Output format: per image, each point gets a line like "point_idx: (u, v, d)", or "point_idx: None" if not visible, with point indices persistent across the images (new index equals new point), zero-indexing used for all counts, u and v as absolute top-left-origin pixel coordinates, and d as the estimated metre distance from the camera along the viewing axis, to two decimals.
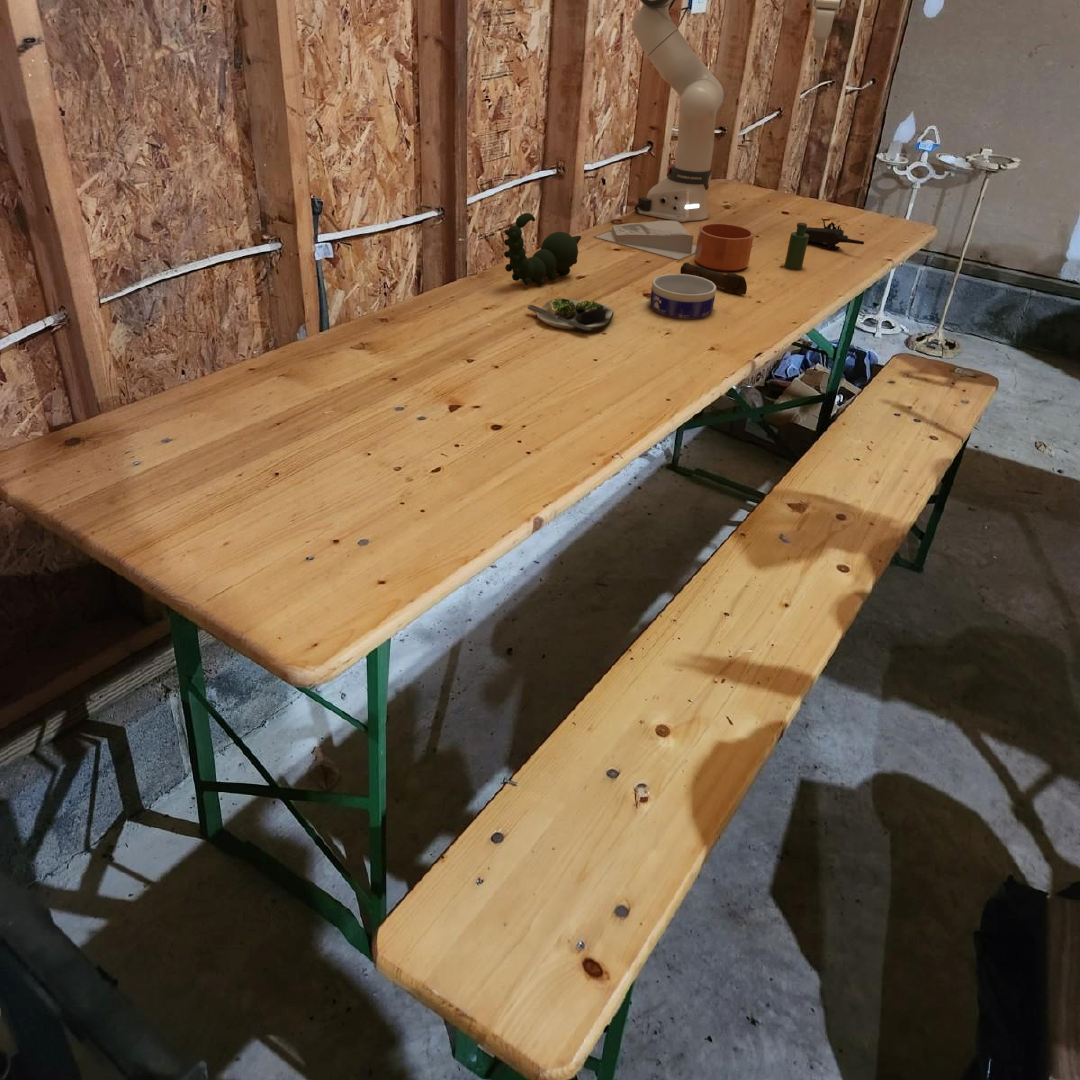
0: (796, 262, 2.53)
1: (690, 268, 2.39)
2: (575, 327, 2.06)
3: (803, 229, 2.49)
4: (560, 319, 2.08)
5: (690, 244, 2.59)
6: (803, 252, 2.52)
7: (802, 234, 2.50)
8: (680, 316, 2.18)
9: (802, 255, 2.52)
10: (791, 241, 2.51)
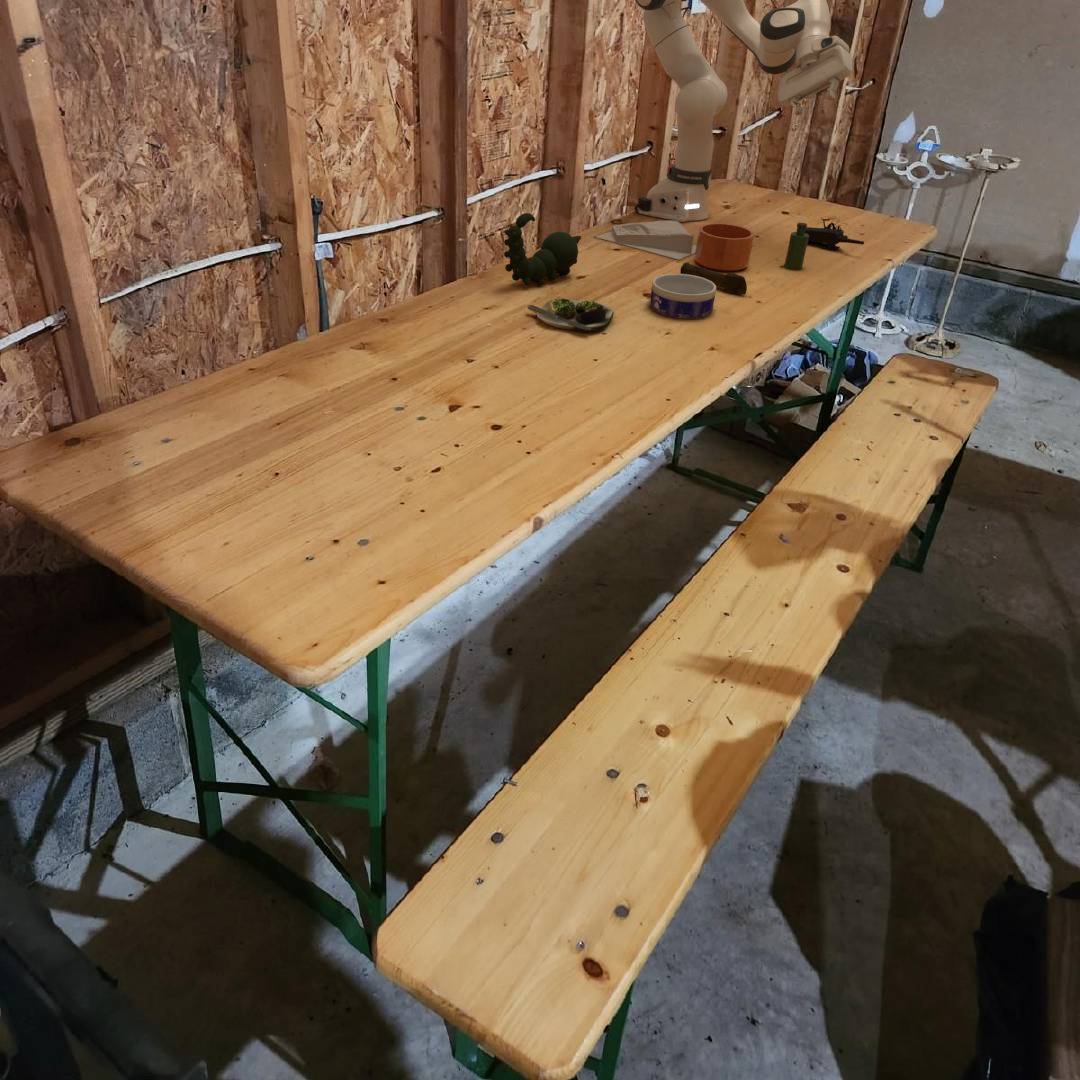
0: (796, 262, 2.53)
1: (690, 268, 2.39)
2: (575, 327, 2.06)
3: (803, 229, 2.49)
4: (560, 319, 2.08)
5: (690, 244, 2.59)
6: (803, 252, 2.52)
7: (802, 234, 2.50)
8: (680, 316, 2.18)
9: (802, 255, 2.52)
10: (791, 241, 2.51)
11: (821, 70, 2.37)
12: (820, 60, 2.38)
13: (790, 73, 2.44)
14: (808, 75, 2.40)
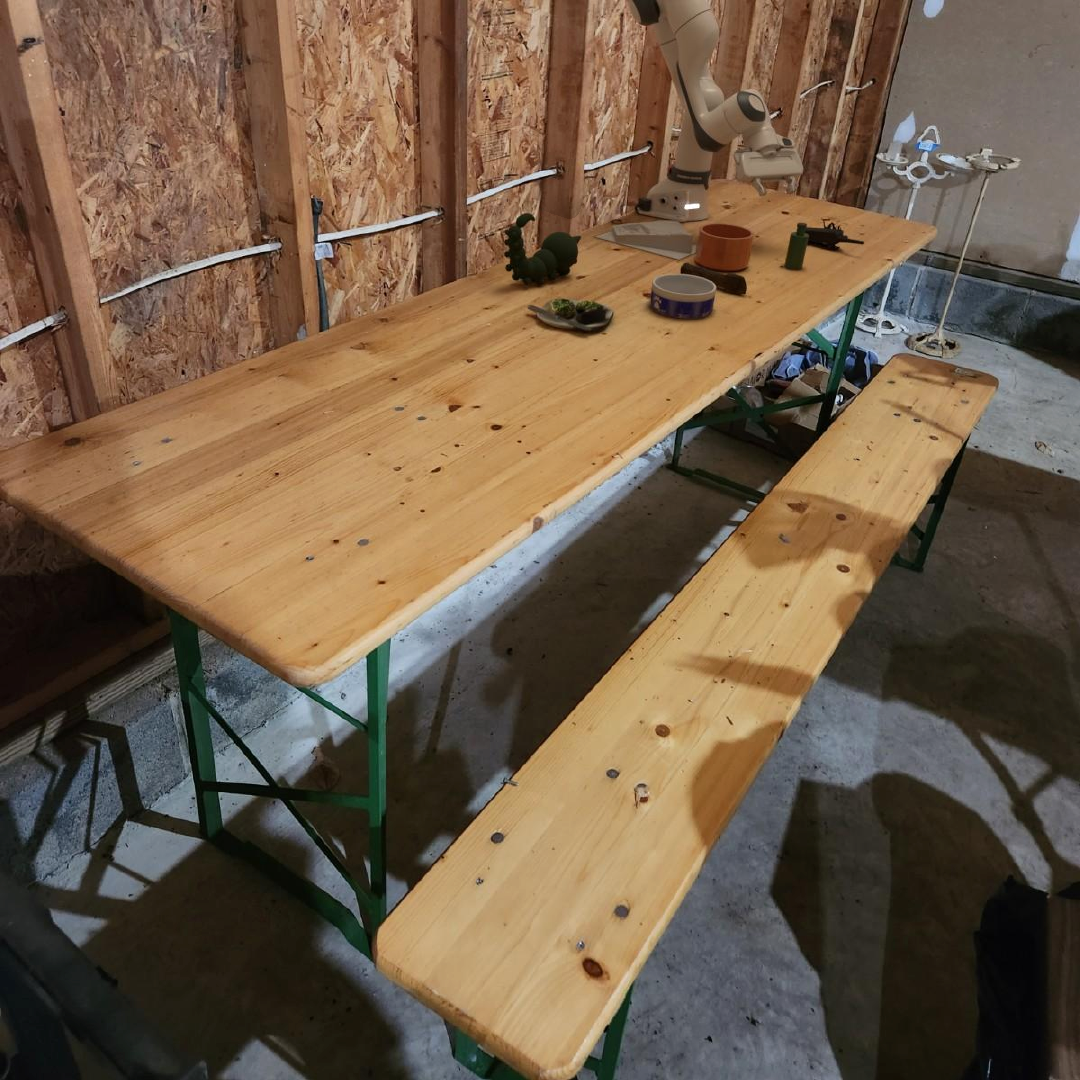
0: (796, 262, 2.53)
1: (690, 268, 2.39)
2: (575, 327, 2.06)
3: (803, 229, 2.49)
4: (560, 319, 2.08)
5: (690, 244, 2.59)
6: (803, 252, 2.52)
7: (802, 234, 2.50)
8: (680, 316, 2.18)
9: (802, 255, 2.52)
10: (791, 241, 2.51)
11: (782, 164, 2.55)
12: (779, 155, 2.55)
13: (751, 153, 2.52)
14: (771, 163, 2.53)
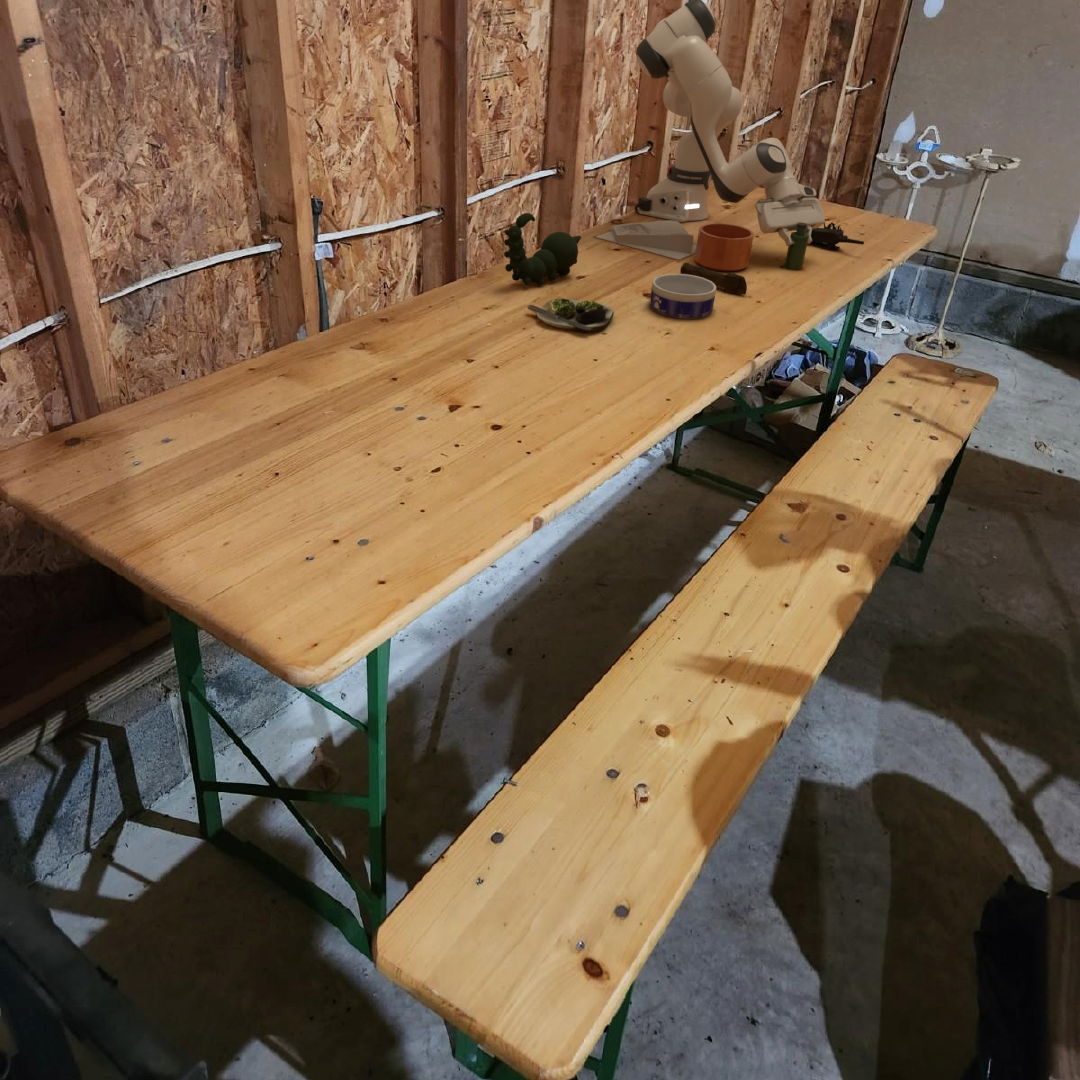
0: (796, 262, 2.53)
1: (690, 268, 2.39)
2: (575, 327, 2.06)
3: (803, 229, 2.49)
4: (560, 319, 2.08)
5: (690, 244, 2.59)
6: (803, 252, 2.52)
7: (802, 234, 2.50)
8: (680, 316, 2.18)
9: (802, 255, 2.52)
10: None
11: (804, 213, 2.52)
12: (801, 204, 2.52)
13: (773, 203, 2.49)
14: (793, 213, 2.51)
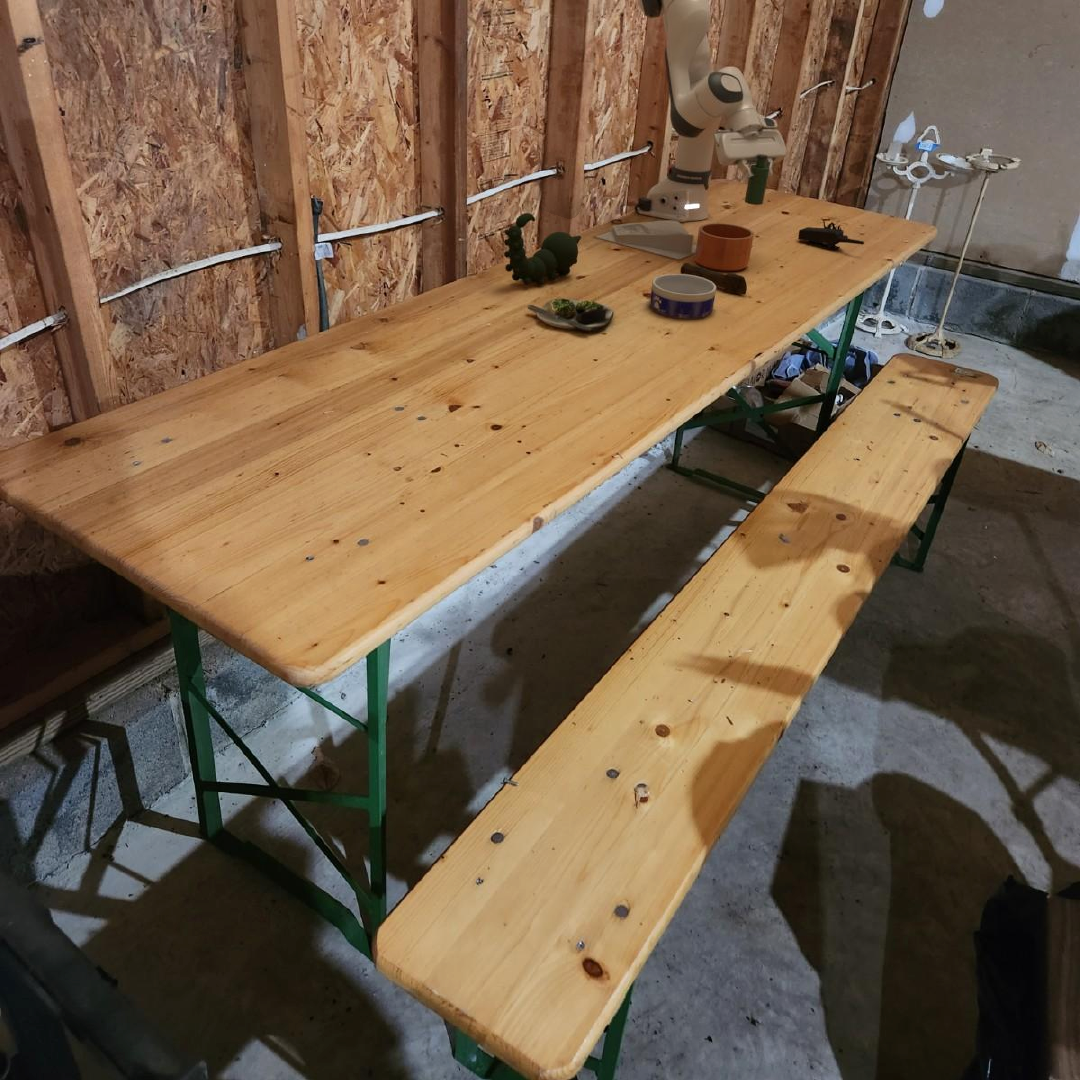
0: (756, 196, 2.42)
1: (690, 268, 2.39)
2: (575, 327, 2.06)
3: (763, 161, 2.38)
4: (560, 319, 2.08)
5: (690, 244, 2.59)
6: (764, 185, 2.41)
7: (762, 166, 2.39)
8: (680, 316, 2.18)
9: (763, 189, 2.41)
10: None
11: (765, 145, 2.42)
12: (761, 136, 2.42)
13: (732, 134, 2.38)
14: (753, 145, 2.40)
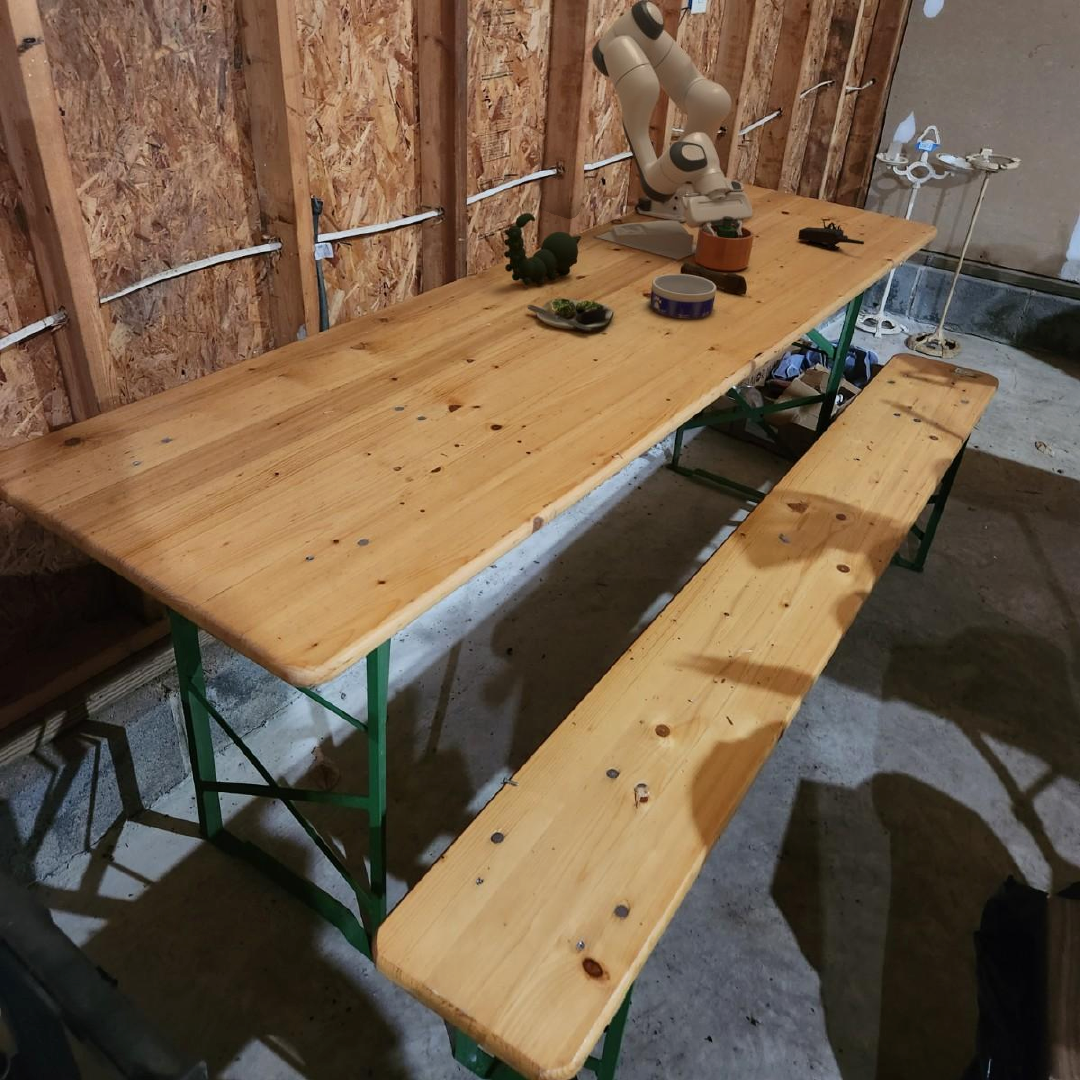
0: None
1: (690, 268, 2.39)
2: (575, 327, 2.06)
3: (729, 223, 2.47)
4: (560, 319, 2.08)
5: (690, 244, 2.59)
6: None
7: (728, 228, 2.48)
8: (680, 316, 2.18)
9: None
10: None
11: (731, 208, 2.50)
12: (728, 198, 2.51)
13: (700, 198, 2.47)
14: (720, 207, 2.49)
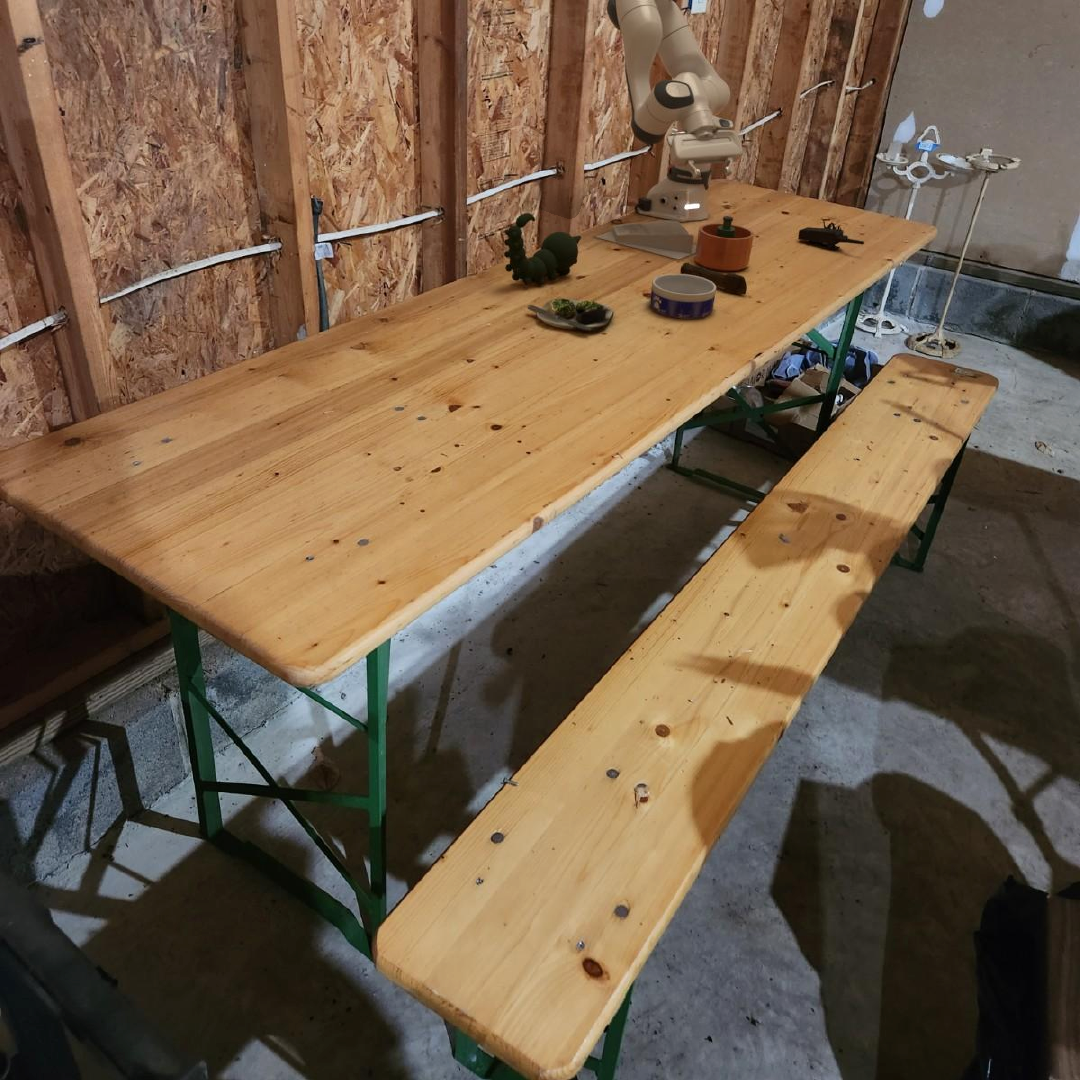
0: None
1: (690, 268, 2.39)
2: (575, 327, 2.06)
3: (729, 223, 2.47)
4: (560, 319, 2.08)
5: (690, 244, 2.59)
6: None
7: (728, 228, 2.48)
8: (680, 316, 2.18)
9: None
10: (717, 235, 2.49)
11: (719, 145, 2.49)
12: (716, 136, 2.50)
13: (685, 136, 2.48)
14: (706, 145, 2.49)
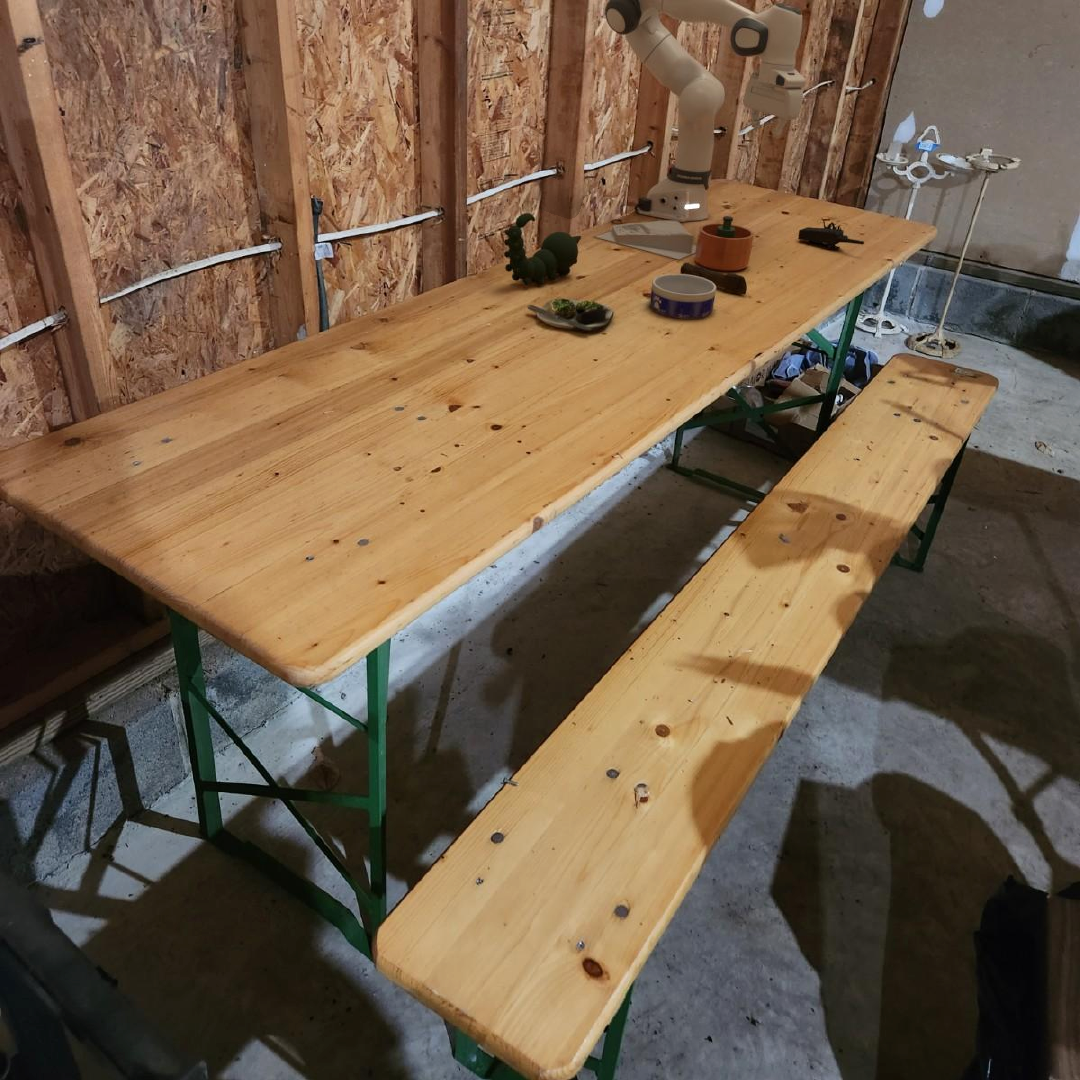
0: None
1: (690, 268, 2.39)
2: (575, 327, 2.06)
3: (729, 223, 2.47)
4: (560, 319, 2.08)
5: (690, 244, 2.59)
6: None
7: (728, 228, 2.48)
8: (680, 316, 2.18)
9: None
10: (717, 235, 2.49)
11: (774, 103, 2.45)
12: (775, 91, 2.44)
13: (755, 82, 2.50)
14: (765, 98, 2.48)
